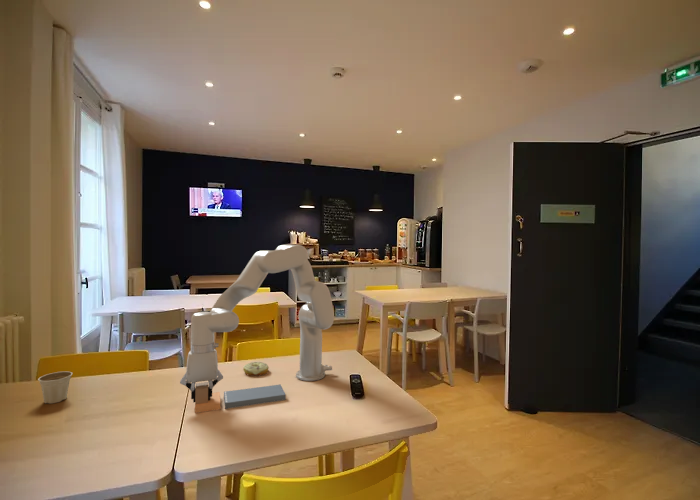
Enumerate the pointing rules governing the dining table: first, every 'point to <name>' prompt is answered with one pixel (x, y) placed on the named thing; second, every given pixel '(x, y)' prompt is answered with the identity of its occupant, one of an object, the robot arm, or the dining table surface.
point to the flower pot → (55, 386)
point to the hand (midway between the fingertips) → (201, 399)
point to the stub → (205, 399)
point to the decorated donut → (255, 368)
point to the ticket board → (253, 396)
